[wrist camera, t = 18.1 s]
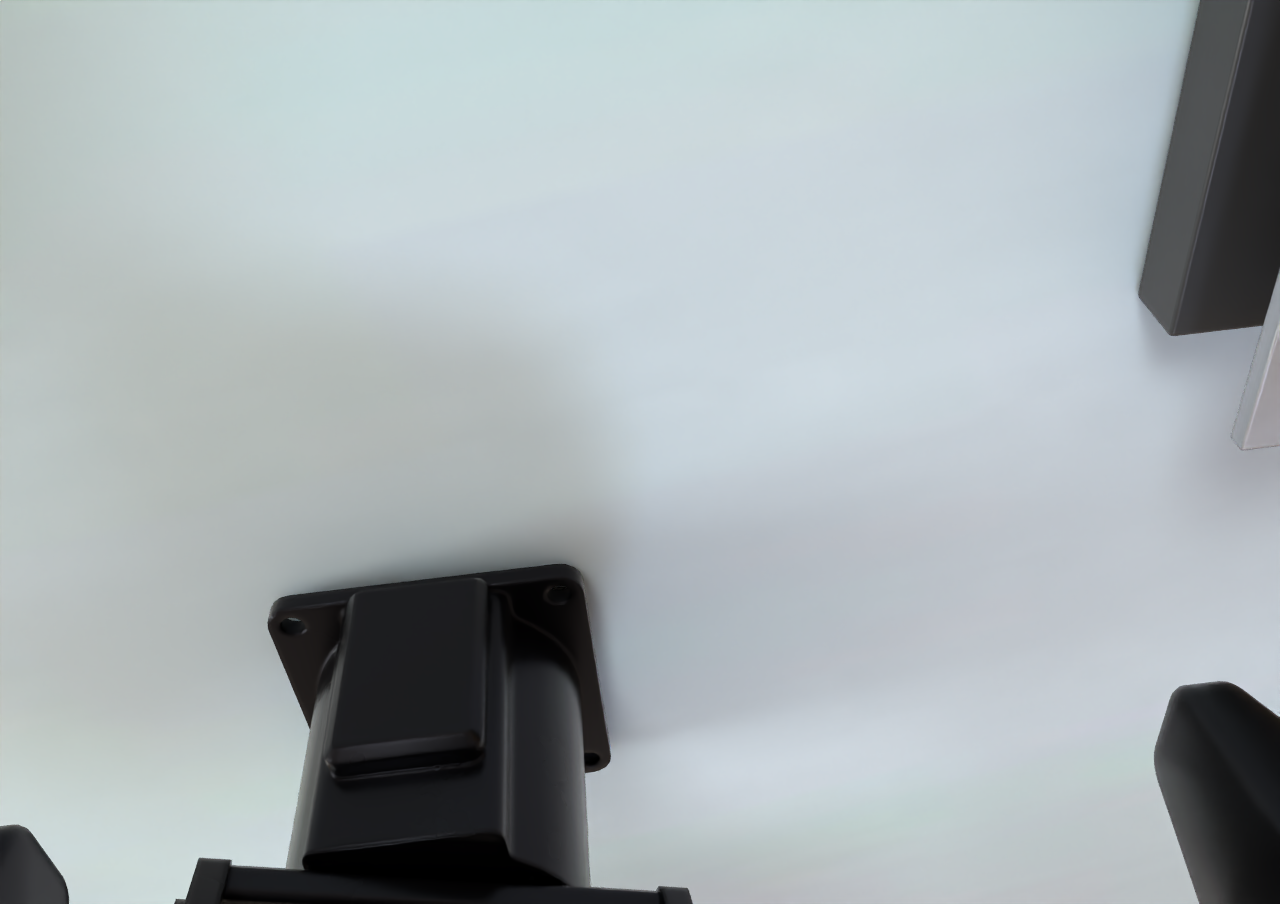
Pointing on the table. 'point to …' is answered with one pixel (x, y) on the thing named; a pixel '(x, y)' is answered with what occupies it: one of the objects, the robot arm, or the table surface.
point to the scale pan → (1262, 387)
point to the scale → (1221, 178)
